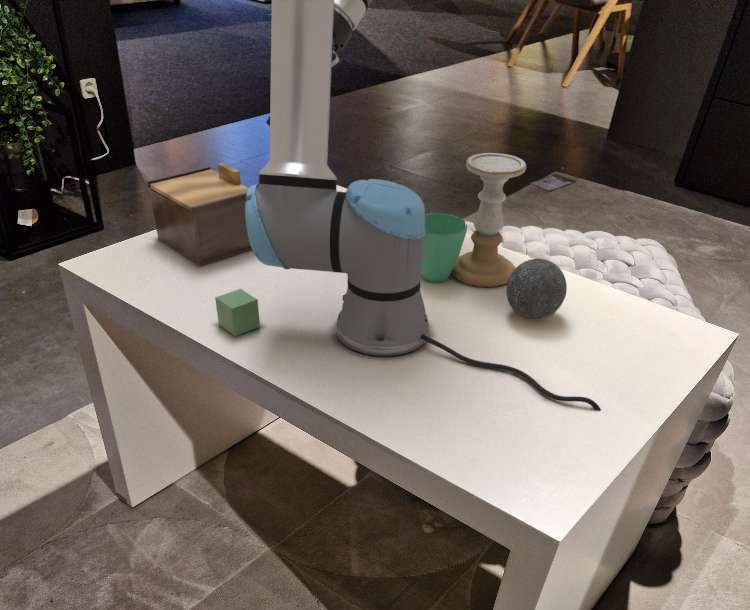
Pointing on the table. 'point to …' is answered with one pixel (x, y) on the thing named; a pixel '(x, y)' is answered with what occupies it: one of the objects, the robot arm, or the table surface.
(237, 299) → the block
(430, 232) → the mug
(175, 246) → the walnut box
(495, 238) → the candle holder
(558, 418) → the table surface
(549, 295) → the decorative ball
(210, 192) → the sliding lid
